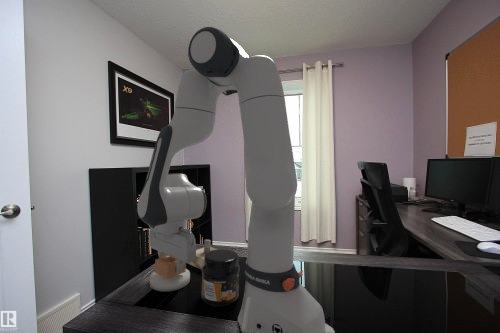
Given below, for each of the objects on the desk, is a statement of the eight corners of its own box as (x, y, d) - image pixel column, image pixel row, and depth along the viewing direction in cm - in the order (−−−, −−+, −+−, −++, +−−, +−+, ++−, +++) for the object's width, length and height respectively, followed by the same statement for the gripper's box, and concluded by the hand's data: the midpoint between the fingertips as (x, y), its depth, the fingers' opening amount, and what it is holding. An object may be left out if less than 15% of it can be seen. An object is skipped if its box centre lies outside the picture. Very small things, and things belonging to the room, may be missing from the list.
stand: (225, 262, 90) (226, 240, 90) (205, 271, 82) (206, 247, 82) (207, 255, 96) (208, 235, 96) (187, 263, 88) (188, 240, 88)
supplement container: (202, 311, 60) (204, 264, 60) (199, 289, 70) (201, 249, 70) (242, 305, 63) (244, 260, 63) (234, 285, 73) (235, 247, 73)
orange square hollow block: (185, 271, 75) (186, 259, 75) (167, 279, 69) (167, 265, 69) (173, 265, 79) (173, 253, 79) (154, 272, 73) (155, 259, 73)
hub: (197, 280, 75) (198, 263, 75) (163, 296, 66) (164, 276, 66) (175, 269, 83) (175, 253, 83) (141, 282, 73) (142, 264, 73)
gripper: (202, 229, 70) (200, 275, 70) (163, 217, 83) (161, 257, 83) (184, 233, 65) (182, 283, 65) (146, 220, 78) (144, 262, 78)
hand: (170, 268), depth 74 cm, fingers closed on orange square hollow block, 6 cm apart
